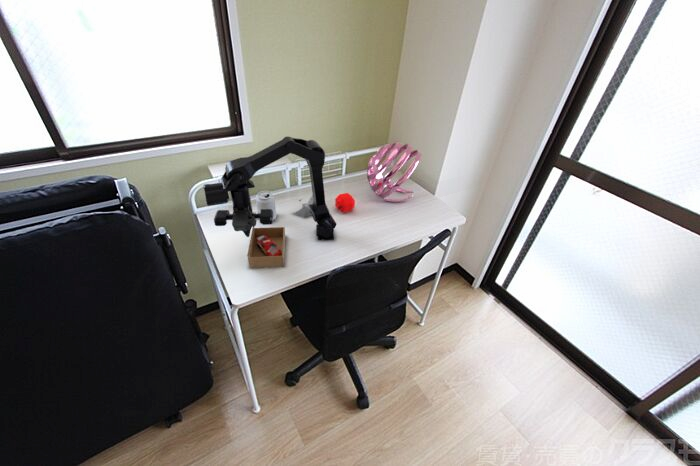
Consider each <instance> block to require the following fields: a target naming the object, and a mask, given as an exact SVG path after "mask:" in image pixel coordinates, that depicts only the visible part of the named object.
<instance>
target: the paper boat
mask: <svg viewBox="0 0 700 466" xmlns="http://www.w3.org/2000/svg"><path fill="white" fill-rule="evenodd" d="M302 200H303V199H299V200H298V201H299V202H302ZM311 204H313V194H312V195H311V197H310V198H309V200H308V201H307V202H306V203H301V208H299V210H297V211H296V212H294V213H293V215H295V216H298V217H301V218H307V217H308V216H311V214H310V207H309V205H311Z"/></svg>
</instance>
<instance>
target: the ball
mask: <svg viewBox="0 0 700 466" xmlns="http://www.w3.org/2000/svg"><path fill="white" fill-rule="evenodd" d="M334 206H335V208H336V209H337V210H338V211H339V212H340V213H342V214H344V213H349V212H352V211H353V210H354V209H355V207H356V200H355V198H354V197H353V195H351V194H350V193H349V192H344V193H340V194H338V195H337V196H336V198H335V200H334Z"/></svg>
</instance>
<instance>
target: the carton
mask: <svg viewBox="0 0 700 466" xmlns="http://www.w3.org/2000/svg"><path fill="white" fill-rule="evenodd" d="M263 235H266V236H267V237H269V238H270V239H271V240H272V241H273V243H274V244H275V245H276V244H277V245H276V246H277V247H278V248H279V249H280V250H281V252H282V256H266V255H265V254H264V253H263V252H262V251H261V250H260V249H259V248H258V246H257V244H256V239H257V238H258V237H260V236H263ZM285 249H286V227H285V226H275V227H273V226H272V227H269V226H268V227H254V232H253V237H252V243H251V247H250V251H249V255H248V256H247V260H248V266H249V269H257V268H258V269H260V268H281V267H282V268H283V267H285V252H286V250H285Z"/></svg>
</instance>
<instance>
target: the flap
mask: <svg viewBox="0 0 700 466" xmlns="http://www.w3.org/2000/svg"><path fill="white" fill-rule="evenodd" d="M254 228H255V226H252V228H251V232H250V237H249V238H250V239H249V245H248V250H247V255H246V256H247V257H248V255H249V251H250V247H251V243H252V237H253V232H254Z"/></svg>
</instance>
